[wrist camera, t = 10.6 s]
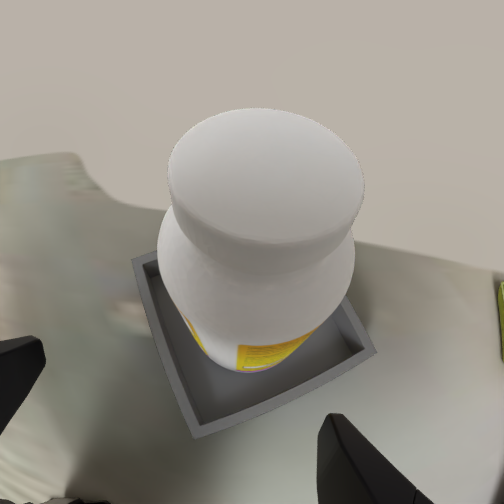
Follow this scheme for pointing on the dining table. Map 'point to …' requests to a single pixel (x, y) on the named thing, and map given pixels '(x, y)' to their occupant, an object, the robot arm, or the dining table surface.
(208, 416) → the tray
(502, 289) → the green rectangular frame
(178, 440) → the dining table surface
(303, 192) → the supplement bottle
